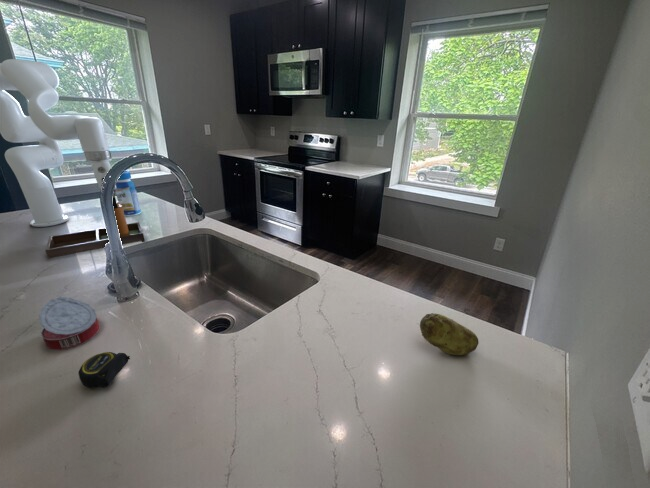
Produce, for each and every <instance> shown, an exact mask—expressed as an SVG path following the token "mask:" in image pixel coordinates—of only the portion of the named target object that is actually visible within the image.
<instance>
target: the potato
mask: <svg viewBox="0 0 650 488" xmlns="http://www.w3.org/2000/svg"><path fill="white" fill-rule="evenodd" d="M419 330H420V333H421V336H422V337H423V339H424V340H425V341H426V342H428V343H429V344H430V345H431V346H433V347H435V348H437V349H439V350H440V351H442V352H443V353H445V354H448V355H451V356H463V355H468V354H470V353H472V352H474V351H475V350H476V349H477V348H478V346H479V337H478V336H477V335H476V333H474V332H473V331H472V330H471V329H469V328H468V327H466V326H464V325H463V324H461V323H459V322H457V321H455V320H454V319H452V318H450V317H447V316H446V315H444V314H439V313H433V312H432V313H427V314H425V315H424V316H422V318H421V320H420V323H419Z"/></svg>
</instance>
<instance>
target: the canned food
mask: <svg viewBox="0 0 650 488" xmlns="http://www.w3.org/2000/svg"><path fill="white" fill-rule="evenodd" d="M40 310H41V311H40V312H39V314H38V317H39V324H40V326H41V327H42V328H43V329H42V330H41V332H40V333H41V337H42V339H43V341H44V343H45V346H46V347H47V348H48V349H50V350H52V351H64V350H69V349H70V350H71V349H73V348H76V347H79V346H81V345H84V344H86V343H87V342H89V341H91V339H93V338H94V337H95V336H96V335H97V334H98V333H99V331H100V329H101V325H100V323H99V320H98V318H97V313H96V310H95V309H94V308H93V307H92V306H91V305H90V304H89V303H85V302H84V301H82V300H78V299H75V298H73V297H65V296H59V297H57V298H52V299H51V300H49V301H48V302H47V303H45V304H44V305H43V306H42V309H40Z"/></svg>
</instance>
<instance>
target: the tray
mask: <svg viewBox="0 0 650 488" xmlns="http://www.w3.org/2000/svg"><path fill="white" fill-rule="evenodd" d="M127 226H128V230H129V234H130V235H126V236H120V238H121V241H122V245H127V244H133V243H138V242H141V243H145V242H146V240H145V236H144V232H143V229H142V226H141V224H140V222H139V221H138V222H132V223H131V222H130V223H127ZM108 242H109V240H108V236H107V233H106V229H105V227H99V228H94V229H86V230H79V231H74V232H68V233H67V232H66V233H61V234H54V235H50V236H48V240H47V244H46V247H45V253H46V255H47V258H48V259H52V258H58V257H64V256H67V255H68V256H69V255H75V254H79V253H85V252H90V251H95V250H101V249H105V248H104V247H105V244H106V243H108ZM122 245H121V246H122Z"/></svg>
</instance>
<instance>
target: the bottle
mask: <svg viewBox="0 0 650 488" xmlns="http://www.w3.org/2000/svg"><path fill="white" fill-rule="evenodd" d="M113 195H115V192H114V191H113ZM114 197H115V198H116V195H115V196H114ZM116 203H117V206H118V208H115V209H114V211H115V216H116V220H117V225H118V229H119V233H120V236H126V235H130V234H129V230H128V226H127V224H128V223H127V219H126V216H125V215H124V211H123V208H122V205H119V202H118V200H116Z"/></svg>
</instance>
